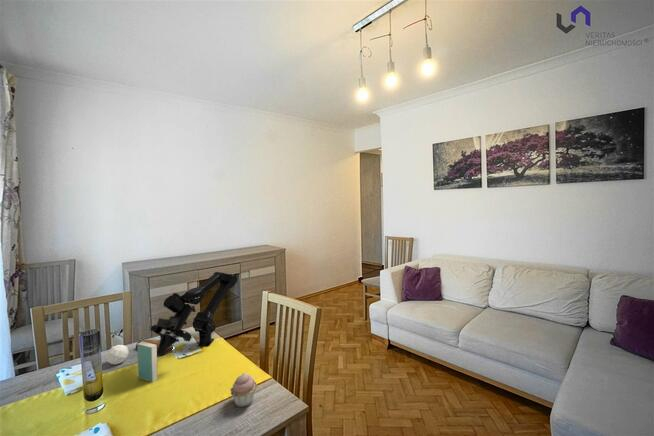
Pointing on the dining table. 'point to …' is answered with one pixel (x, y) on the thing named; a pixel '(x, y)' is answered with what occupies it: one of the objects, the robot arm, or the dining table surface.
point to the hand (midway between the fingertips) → (158, 353)
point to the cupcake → (243, 390)
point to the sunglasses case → (157, 345)
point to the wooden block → (147, 361)
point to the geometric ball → (117, 354)
